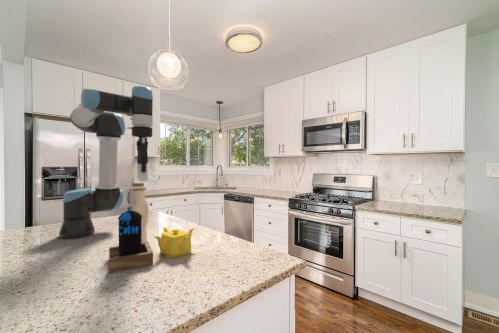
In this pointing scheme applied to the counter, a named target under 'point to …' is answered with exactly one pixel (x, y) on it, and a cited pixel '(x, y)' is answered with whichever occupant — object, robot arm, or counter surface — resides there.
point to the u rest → (130, 259)
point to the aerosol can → (130, 232)
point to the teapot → (175, 242)
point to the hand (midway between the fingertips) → (141, 180)
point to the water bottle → (139, 205)
